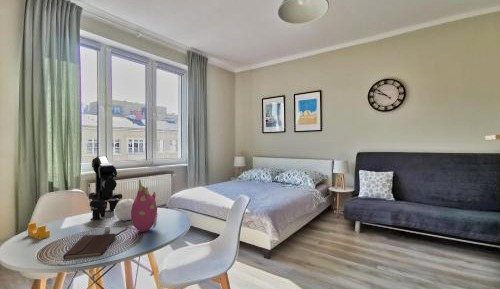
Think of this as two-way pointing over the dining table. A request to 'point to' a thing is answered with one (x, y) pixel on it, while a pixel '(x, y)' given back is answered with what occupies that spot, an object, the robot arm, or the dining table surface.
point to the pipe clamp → (37, 231)
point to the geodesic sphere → (124, 209)
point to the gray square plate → (109, 230)
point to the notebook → (90, 246)
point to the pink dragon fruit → (144, 210)
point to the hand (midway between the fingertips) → (107, 215)
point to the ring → (108, 214)
